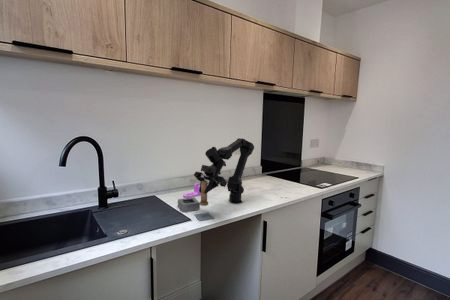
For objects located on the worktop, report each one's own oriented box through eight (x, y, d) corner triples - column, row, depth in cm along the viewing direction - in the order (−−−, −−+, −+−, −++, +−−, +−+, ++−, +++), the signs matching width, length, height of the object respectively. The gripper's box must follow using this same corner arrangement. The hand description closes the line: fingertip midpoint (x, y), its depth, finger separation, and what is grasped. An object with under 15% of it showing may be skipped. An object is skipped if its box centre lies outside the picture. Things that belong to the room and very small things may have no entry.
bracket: (198, 192, 166) (198, 183, 165) (203, 195, 162) (203, 185, 161) (181, 196, 158) (181, 186, 157) (186, 198, 154) (186, 188, 153)
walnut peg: (203, 202, 129) (203, 180, 127) (210, 204, 126) (210, 181, 125) (197, 204, 125) (197, 181, 124) (204, 206, 123) (204, 183, 121)
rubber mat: (208, 213, 132) (208, 212, 132) (213, 218, 125) (214, 218, 125) (194, 215, 129) (194, 214, 128) (199, 221, 121) (199, 220, 121)
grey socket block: (194, 203, 145) (194, 197, 144) (199, 209, 136) (199, 202, 135) (177, 205, 141) (177, 199, 140) (182, 212, 132) (182, 205, 131)
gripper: (196, 156, 131) (181, 180, 124) (223, 161, 120) (209, 187, 113) (205, 168, 138) (191, 192, 131) (232, 173, 128) (219, 199, 120)
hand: (202, 192), depth 124 cm, fingers closed on walnut peg, 3 cm apart
